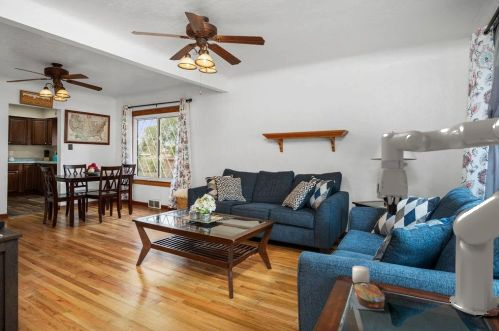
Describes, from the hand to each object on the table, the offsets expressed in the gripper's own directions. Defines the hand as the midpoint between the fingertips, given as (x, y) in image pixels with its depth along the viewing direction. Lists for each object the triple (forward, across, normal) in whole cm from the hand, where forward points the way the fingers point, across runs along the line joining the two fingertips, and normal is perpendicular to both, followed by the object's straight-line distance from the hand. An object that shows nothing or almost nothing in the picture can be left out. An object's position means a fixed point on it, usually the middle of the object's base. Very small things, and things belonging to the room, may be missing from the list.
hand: (392, 214), depth 109 cm
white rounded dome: (+27, +11, -1) cm, 29 cm away
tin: (+26, +8, +12) cm, 29 cm away
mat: (+27, +13, +12) cm, 32 cm away
